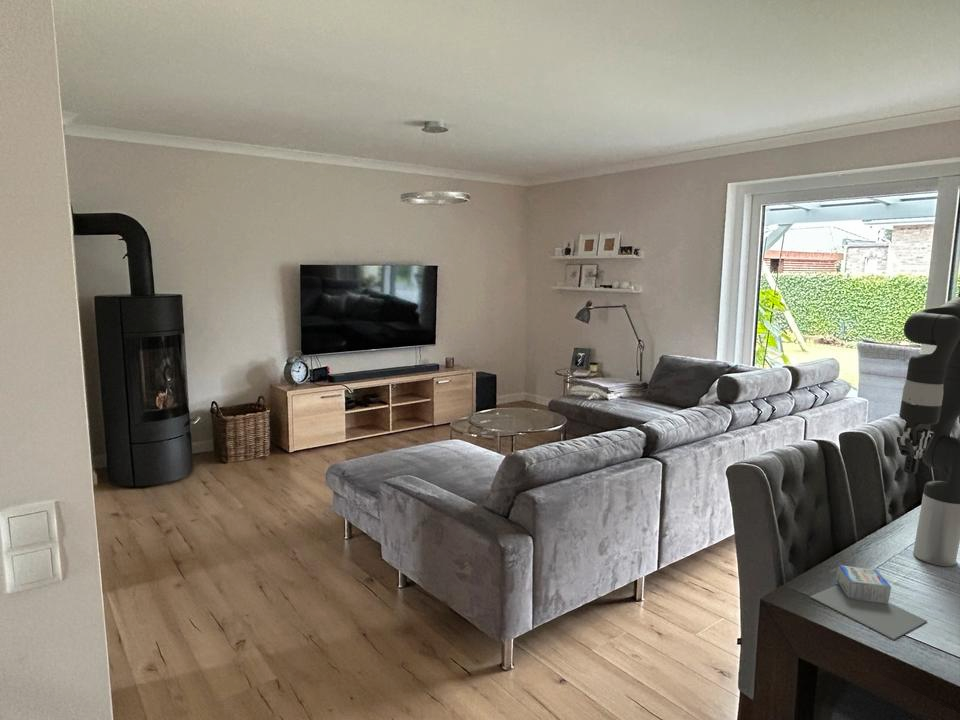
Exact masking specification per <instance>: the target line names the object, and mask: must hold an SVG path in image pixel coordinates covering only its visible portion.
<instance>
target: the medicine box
mask: <svg viewBox="0 0 960 720" xmlns="http://www.w3.org/2000/svg"><path fill="white" fill-rule="evenodd" d="M835 579H836V582H837V585H838V584H839V585H840V587H841V588H842V590H843V591H844V593H845V594H846V595H847V597H848V598H850V599H857V600H864V601H871V602H879V603H886V604H888V603H889V601H890V597H891V596H890V595H891V589H892V586H891V584H890V583H889V582H888V581H887V580H886V579H885V578H884V577H883V575H881V573H880V572H879V571H878V570H877V569H872V568H871V569H869V568H863V567H858V566H857V567H856V566H849V565H841V564H840V565H838V567H837V571H836V578H835Z"/></svg>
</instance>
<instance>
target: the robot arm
mask: <svg viewBox="0 0 960 720" xmlns="http://www.w3.org/2000/svg"><path fill="white" fill-rule="evenodd" d="M903 334H904V336H905V337H906V338H907V339H906V340H908V341H909V342H912V343H914V344H921V345H928V346H929V345H930V346H936V347H935V349H934V351H933V352H932V353H925V354H923V353H921V354H920V353H919V354H914V355H911V357H909V359H908V360H909V361H908V366H907V372H906V378H905V383H904V385H903V388H902V389H903V390H902V396H901V401H900V402H901V403H900V409H899V418H900V419H901V420H902V421H903V420H904V421H905V425H904V427H903V431H902V436H900V435H898V436H896V443H897V446H898V450H899V453H900V455H901V456H904V457H905V459H904V466H903V472H904V473H907V474H911V475H914V474H917V473H918V470H919V469H918V468H919V463H920V459H921V458H922V461H923V463H924V465H926V467H930V468H932V469H935V470H939V471H940V472H941V471H942V472H945V473H948V474H949V475H948V478H947V480H931V481H927V482H925V484H924V487H923V493H922V499H921V506H920V511H919V515H918V522H917V528H916V534H915V540H914V544H913V545H914V546H913V551H912V553H913V555H914V557H915V558H917V559H919V560H921V561H923V562H926V563H928V564H930V565H935V566H940V567H945V568H946V567H954V566H956V562H957V558H958V552H959V548H960V438H958V437H954V436H951V434H952V430H953V427H954V425H955V422H956V420H957V419H958V418H959V417H960V290H959V291H958V296H957V297H955V298H953V299H950V300H948V301H946V302H944V303H943V304H941V305H939V306H936V307H930V308H925V309H921V310H919V311H916V312H913V314H911V315H910V316H909V317H908V318H907V319H906V321H905V322H904V325H903Z"/></svg>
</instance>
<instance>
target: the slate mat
mask: <svg viewBox="0 0 960 720" xmlns="http://www.w3.org/2000/svg"><path fill="white" fill-rule="evenodd" d="M809 598H810V599H813V600H814V601H816V602H818V603H820V604H822V605H824V606H826V607H827V608H829V609H832V610H833V611H836V612H837V613H840V614H841V615H843V616H846V617H847V618H849V619H852V620H853V621H855V622H857V623H859V624H861V625H863V626H865V627H867V628H869V629H871V630H873V631H875V632H877V633H878V634H881V635H883V636H884V637H886V638H889V639H890V640H892V641H896V640H897V639H898V638H900V637H902V636H904V635H907V634H908V633H910V632H912V631H913V630H916V629H917V628H918V626H919V627H920V625H921V626H922V624H923V625H924V624H926V623H927V622H928V620H927V619H924V618H923V617H921V616H918V615H916V614H914V613H911V612H910V611H908V610H905V609H903V608H901V607H899V606H896V605H895V604H892V603H890V602H888V604H886V603H879V602H871V601H864V600H857V599H850V598H848V597H847V595H846V594H845V593H844V591H843V590H842V588H841V587H840V585H839V584H838V583H837V584H836V585H834V586H831V587H829V588H827V589H824V590H821V591H820V592H817V593H815V594H813V595H810V596H809Z"/></svg>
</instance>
